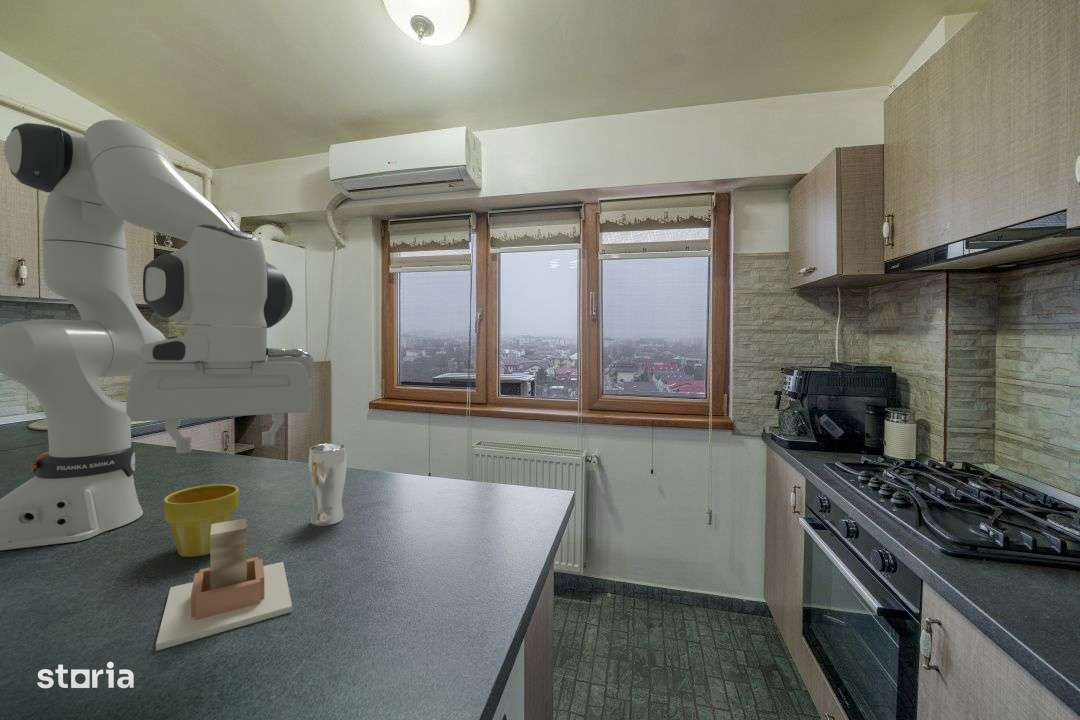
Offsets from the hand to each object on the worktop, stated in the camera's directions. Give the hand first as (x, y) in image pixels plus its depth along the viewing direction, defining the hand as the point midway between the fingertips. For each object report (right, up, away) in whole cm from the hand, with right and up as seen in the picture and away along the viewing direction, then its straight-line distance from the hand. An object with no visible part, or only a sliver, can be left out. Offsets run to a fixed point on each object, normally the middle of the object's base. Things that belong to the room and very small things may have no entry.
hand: (227, 448), depth 60 cm
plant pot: (-16, -21, +16) cm, 31 cm away
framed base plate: (0, -22, +1) cm, 22 cm away
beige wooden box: (0, -21, +1) cm, 21 cm away
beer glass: (0, -21, +29) cm, 36 cm away
